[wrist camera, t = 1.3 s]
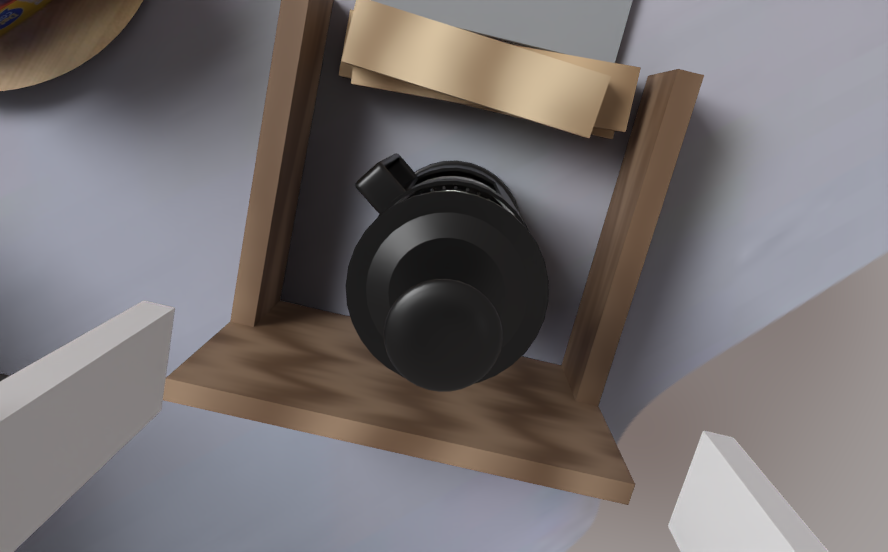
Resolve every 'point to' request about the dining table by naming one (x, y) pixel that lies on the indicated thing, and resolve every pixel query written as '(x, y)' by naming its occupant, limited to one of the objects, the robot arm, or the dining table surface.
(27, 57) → the stacked boxes on plate
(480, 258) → the french press
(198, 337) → the dining table surface
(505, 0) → the slate mat
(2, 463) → the robot arm
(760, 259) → the dining table surface
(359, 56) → the offcut stack
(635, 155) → the wooden box
